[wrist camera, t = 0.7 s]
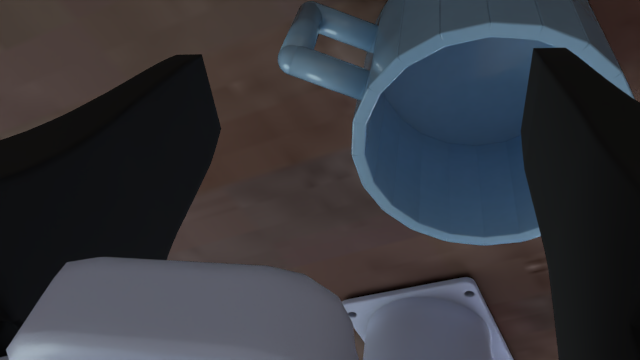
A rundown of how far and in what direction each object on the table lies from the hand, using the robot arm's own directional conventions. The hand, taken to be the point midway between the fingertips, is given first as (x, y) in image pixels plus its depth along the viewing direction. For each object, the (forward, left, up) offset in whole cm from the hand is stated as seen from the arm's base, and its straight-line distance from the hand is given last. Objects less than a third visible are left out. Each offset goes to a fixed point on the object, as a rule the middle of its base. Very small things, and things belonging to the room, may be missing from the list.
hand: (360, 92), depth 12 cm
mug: (-4, 0, -10) cm, 11 cm away
